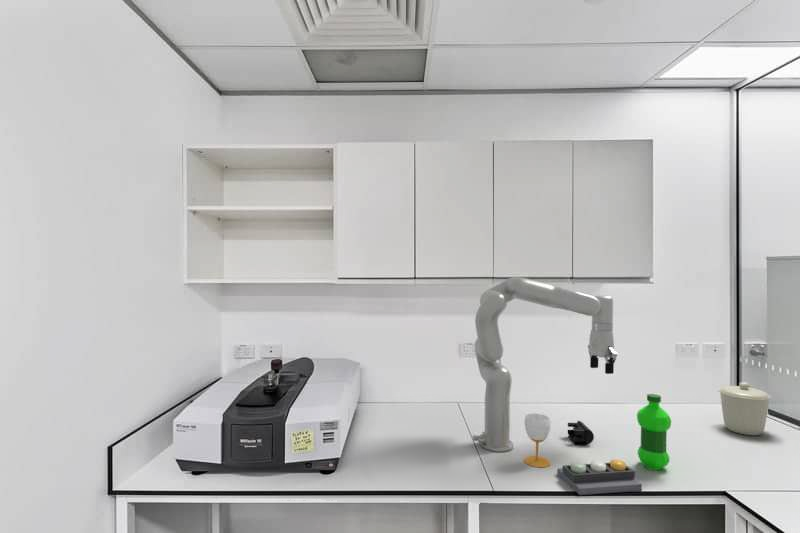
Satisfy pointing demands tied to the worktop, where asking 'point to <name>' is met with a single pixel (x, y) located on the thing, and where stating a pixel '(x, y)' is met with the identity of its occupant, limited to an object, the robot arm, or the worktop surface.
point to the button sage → (578, 468)
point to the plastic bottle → (653, 434)
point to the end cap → (580, 434)
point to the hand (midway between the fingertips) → (601, 370)
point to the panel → (600, 480)
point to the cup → (537, 436)
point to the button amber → (618, 465)
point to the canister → (744, 409)
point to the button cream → (598, 466)
